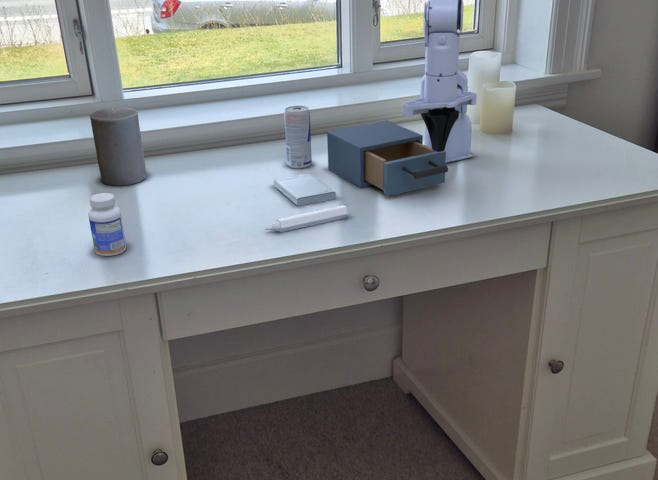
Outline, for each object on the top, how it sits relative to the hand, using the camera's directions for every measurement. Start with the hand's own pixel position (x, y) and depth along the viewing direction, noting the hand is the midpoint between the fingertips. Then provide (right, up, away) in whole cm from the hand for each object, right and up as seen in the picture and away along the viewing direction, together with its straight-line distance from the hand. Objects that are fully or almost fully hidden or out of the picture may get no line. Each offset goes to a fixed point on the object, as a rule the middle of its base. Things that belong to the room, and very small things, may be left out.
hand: (438, 150), depth 150 cm
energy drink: (-26, +4, +28) cm, 39 cm away
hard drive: (-25, -5, +13) cm, 29 cm away
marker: (-24, -14, -1) cm, 28 cm away
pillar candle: (-63, 0, +25) cm, 68 cm away
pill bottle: (-58, -19, -8) cm, 61 cm away
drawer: (-5, -4, +13) cm, 14 cm away
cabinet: (-10, +1, +23) cm, 25 cm away
